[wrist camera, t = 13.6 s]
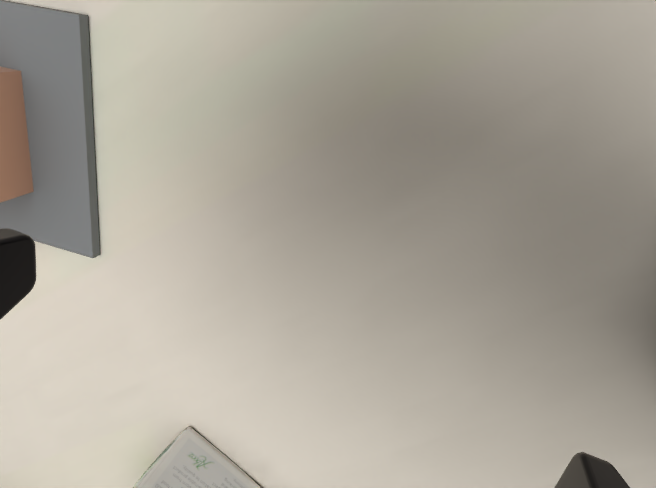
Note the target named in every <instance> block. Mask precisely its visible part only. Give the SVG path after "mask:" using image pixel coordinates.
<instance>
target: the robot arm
mask: <svg viewBox="0 0 656 488" xmlns="http://www.w3.org/2000/svg"><path fill="white" fill-rule="evenodd" d="M35 281H36V254H35V243H34V241H33V239H32V238H31V237H30V236H29V235H26V234H24V233H21V232H19V231H16V230H13V229H9V228H3V229H0V319H2V318H3V317H4V316H5V315H6V314H7V313H8V312H9V311H10V310H11V309H12V308H13V307H14V306H15V305H17V304H18V303H19V302H20V301H21V300H22V299H23V298H24V297H25V296H26V295H27V294H28V293H29V292H30V291H31V290H32V288H33V287H34V284H35ZM555 488H630V487H629V486H628V484H627V483H626V482H625V480H624V479H623V478H622V477H621V475H620V474H619V473H618V471H617V470H616V469H615V468H614V467H613V465H612V464H610V463H609V462H607V461H604V460H602V459H599V458H597V457H594V456H592V455H589V454H586V453H584V452H581V453H577V454H576V455H575V456H574V457H573V458H572V459H571V461H570V463H569V464H568V466H567V468H566V469H565V471H564V473H563V474H562V476H561V478H560V479H559V481H558V483H557V484H556V486H555Z"/></svg>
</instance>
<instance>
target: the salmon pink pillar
mask: <svg viewBox="0 0 656 488" xmlns="http://www.w3.org/2000/svg"><path fill="white" fill-rule="evenodd" d="M31 192H34V190H33V180H32V171H31V161H30V152H29V142H28V133H27V123H26V114H25V104H24V95H23V85H22V76H21V71H19V70H15V69H10V68H5V67H0V203H1V202H4V201H7V200H10V199H13V198H16V197H19V196H22V195H25V194H28V193H31Z"/></svg>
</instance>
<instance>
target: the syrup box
mask: <svg viewBox="0 0 656 488" xmlns="http://www.w3.org/2000/svg"><path fill="white" fill-rule="evenodd" d="M133 488H261V487H260V486H259V485H258V484H256V483H255V482H254V481H253V480H252V479H251V478H250V477H249V476H248V475H247V474H246V473H245V472H244V471H243V470H241V469H240V468H239V467H238V466H237V465H236V464H234V463H233V462H232V461H231V460H230V459H229V458H228V457H226V456H225V455H224V454H223V453H221V452H220V451H219V450H218V449H217V448H215V447H214V446H213V445H212V444H211V443H209V442H208V441H207V440H206V439H205V438H203V437H202V436H201V435H200V434H198V433H197V432H196V431H194V430H193V429H192V428H191V427H187V429H185V430H184V431H183V432H182V433H181V434H180V435H179V436H178V437H177V438H176V439H175V440H174V441H173V442H172V443H171V444H170V445H169V446H168V447H167V448H166V449H165V450H164V451H163V453H162V454H161V455H160V456H159V457H158V458H157V459H156V460H155V462H154V463H153V464H152V465H151V466H150V467H149V468H148V470H147V471H146V472H145V473H144V474H143V475H142V477H141V478H140V479H139V480H138V482H137V483H136V484H135V485H134V487H133Z"/></svg>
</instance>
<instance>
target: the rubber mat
mask: <svg viewBox="0 0 656 488" xmlns="http://www.w3.org/2000/svg"><path fill="white" fill-rule="evenodd" d="M0 67H5V68H10V69H15V70H19V71H21V76H22V85H23V95H24V104H25V114H26V123H27V133H28V142H29V152H30V161H31V171H32V180H33V190H34V192H31V193H28V194H25V195H22V196H19V197H16V198H13V199H10V200H7V201H4V202H1V203H0V229H3V228H9V229H13V230H16V231H19V232H21V233H24V234H26V235H29V236H30V237H31V238H32V239H33V240H34V241H37V242H41V243H44V244H47V245H51V246H54V247H57V248H60V249H64V250H67V251H70V252H74V253H77V254H80V255H84V256H87V257H90V258H94V257H96V256H98V255H100V245H99V226H98V206H97V186H96V166H95V147H94V127H93V107H92V87H91V68H90V48H89V28H88V15H84V14H78V13H72V12H67V11H61V10H55V9H50V8H44V7H38V6H32V5H27V4H21V3H15V2H10V1H4V0H0Z"/></svg>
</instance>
